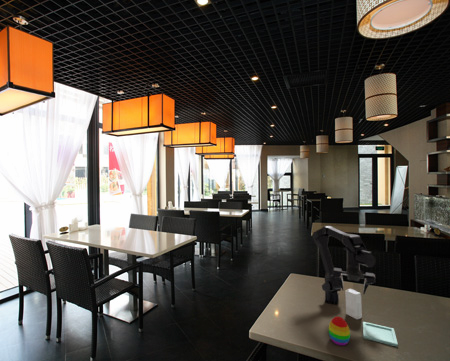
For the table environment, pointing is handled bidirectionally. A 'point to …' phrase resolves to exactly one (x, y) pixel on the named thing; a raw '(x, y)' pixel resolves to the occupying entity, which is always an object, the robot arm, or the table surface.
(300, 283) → the table surface
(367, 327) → the tray
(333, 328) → the decorative egg
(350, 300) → the skincare box
